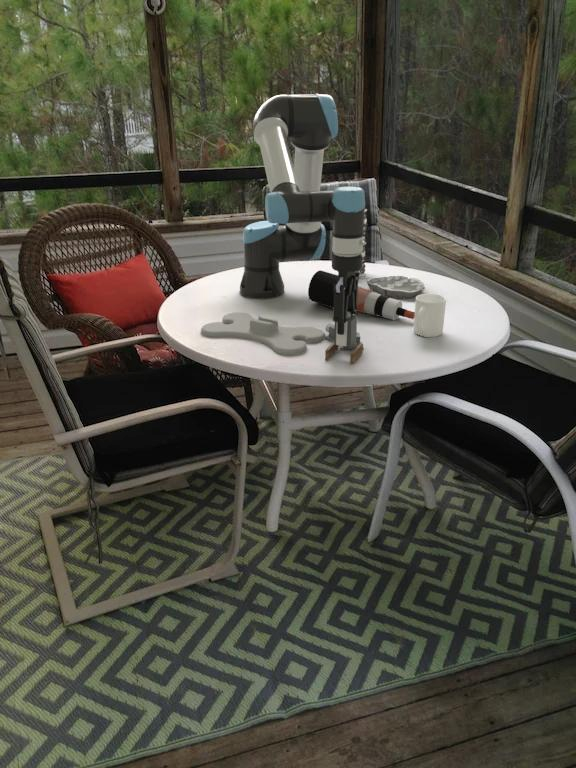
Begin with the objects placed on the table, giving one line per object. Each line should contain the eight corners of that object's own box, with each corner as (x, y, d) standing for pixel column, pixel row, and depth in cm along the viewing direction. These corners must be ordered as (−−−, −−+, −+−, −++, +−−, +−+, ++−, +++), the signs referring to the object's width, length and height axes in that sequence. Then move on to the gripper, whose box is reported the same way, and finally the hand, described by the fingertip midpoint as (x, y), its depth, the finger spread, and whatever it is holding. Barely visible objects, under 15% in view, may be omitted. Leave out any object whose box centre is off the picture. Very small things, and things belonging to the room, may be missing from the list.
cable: (406, 339, 196) (405, 315, 189) (310, 307, 212) (305, 284, 204) (421, 316, 201) (421, 292, 193) (326, 287, 216) (322, 263, 209)
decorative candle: (367, 271, 245) (370, 203, 234) (364, 278, 237) (367, 208, 226) (343, 270, 247) (345, 202, 236) (339, 277, 239) (341, 207, 228)
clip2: (338, 343, 181) (339, 331, 180) (361, 343, 181) (362, 330, 180) (339, 350, 177) (340, 338, 175) (363, 350, 176) (364, 338, 175)
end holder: (325, 359, 171) (325, 349, 170) (335, 349, 178) (335, 339, 176) (353, 364, 168) (353, 354, 167) (362, 353, 175) (363, 343, 174)
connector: (350, 347, 168) (351, 316, 165) (334, 344, 170) (334, 314, 167) (356, 341, 172) (357, 311, 169) (339, 338, 174) (340, 309, 170)
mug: (429, 344, 180) (432, 308, 176) (402, 337, 185) (404, 302, 180) (447, 331, 189) (450, 296, 185) (420, 325, 194) (423, 291, 189)
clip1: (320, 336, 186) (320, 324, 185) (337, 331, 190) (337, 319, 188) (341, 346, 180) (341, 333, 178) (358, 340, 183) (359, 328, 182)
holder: (295, 359, 173) (295, 341, 171) (195, 335, 189) (193, 318, 187) (330, 336, 187) (330, 320, 185) (234, 316, 204) (233, 300, 202)
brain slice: (435, 290, 225) (435, 282, 223) (410, 303, 213) (411, 294, 211) (385, 280, 236) (385, 272, 234) (359, 292, 224) (359, 283, 223)
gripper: (350, 263, 152) (347, 355, 162) (372, 246, 167) (368, 332, 177) (320, 260, 155) (319, 351, 165) (344, 244, 170) (342, 328, 180)
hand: (344, 341), depth 171 cm, fingers closed on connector, 4 cm apart
